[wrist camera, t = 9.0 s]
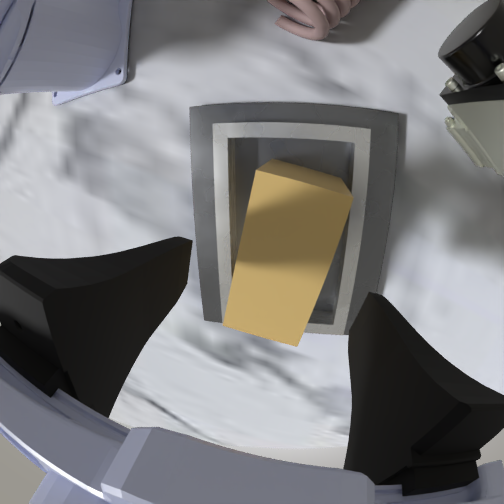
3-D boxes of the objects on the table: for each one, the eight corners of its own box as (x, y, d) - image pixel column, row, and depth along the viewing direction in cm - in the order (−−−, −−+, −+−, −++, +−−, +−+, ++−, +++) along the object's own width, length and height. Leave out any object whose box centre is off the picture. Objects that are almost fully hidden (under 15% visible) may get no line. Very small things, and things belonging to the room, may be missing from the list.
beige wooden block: (243, 279, 19) (222, 325, 14) (272, 158, 15) (255, 169, 11) (302, 295, 19) (297, 346, 14) (341, 178, 15) (353, 197, 11)
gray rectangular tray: (194, 107, 16) (178, 105, 14) (394, 114, 14) (406, 112, 11) (207, 314, 22) (197, 332, 20) (363, 329, 20) (367, 349, 18)
